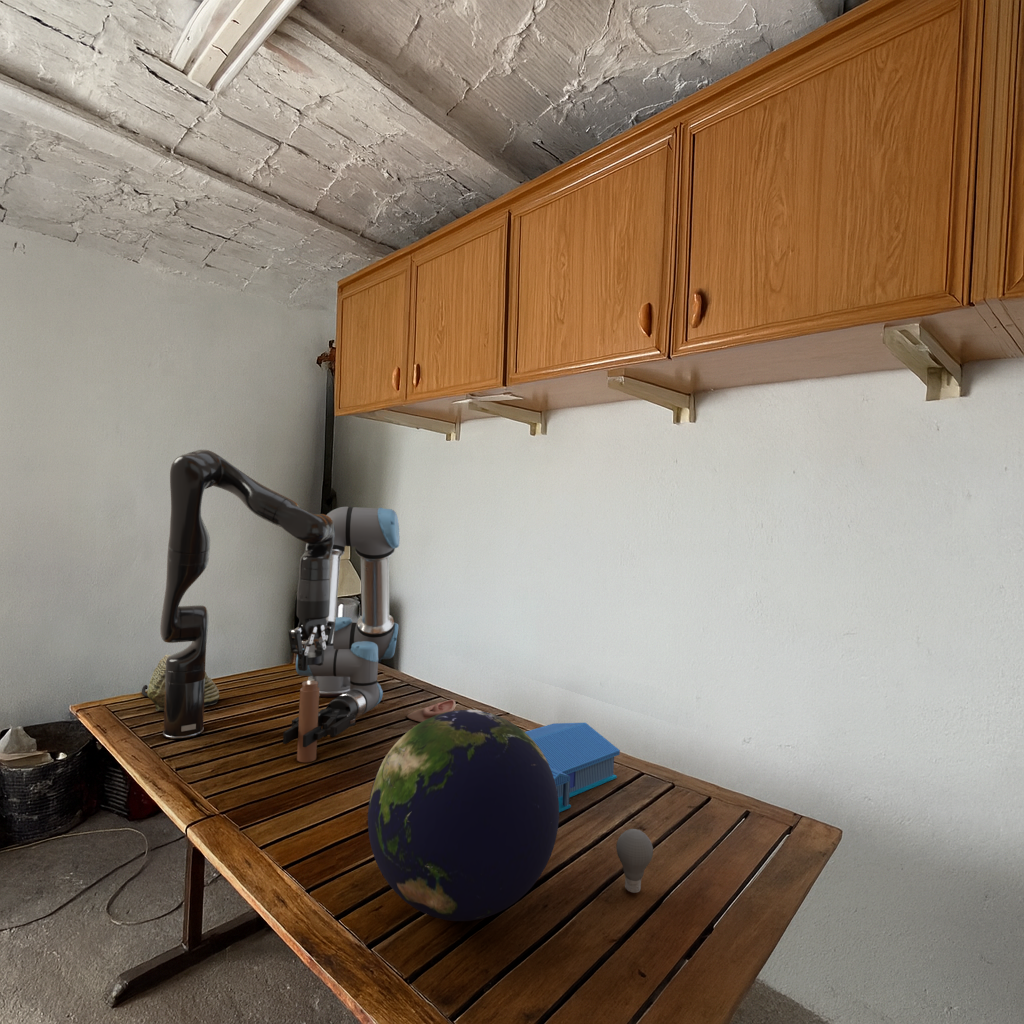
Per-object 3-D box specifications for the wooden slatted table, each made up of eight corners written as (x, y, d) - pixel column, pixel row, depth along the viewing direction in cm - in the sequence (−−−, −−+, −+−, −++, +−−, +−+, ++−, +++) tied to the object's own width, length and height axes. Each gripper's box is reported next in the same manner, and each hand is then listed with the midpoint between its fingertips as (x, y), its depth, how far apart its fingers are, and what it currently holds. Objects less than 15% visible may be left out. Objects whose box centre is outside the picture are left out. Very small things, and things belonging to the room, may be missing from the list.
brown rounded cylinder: (296, 763, 150) (300, 685, 149) (296, 756, 154) (300, 680, 154) (316, 761, 151) (320, 684, 151) (316, 754, 155) (319, 679, 155)
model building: (501, 837, 120) (504, 785, 120) (427, 790, 139) (429, 744, 138) (628, 782, 147) (630, 739, 147) (552, 748, 165) (553, 710, 165)
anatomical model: (403, 706, 181) (417, 694, 192) (402, 720, 181) (416, 707, 192) (447, 711, 178) (459, 699, 189) (447, 725, 178) (458, 712, 189)
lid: (325, 662, 152) (325, 655, 152) (306, 666, 149) (307, 658, 149) (314, 658, 156) (314, 651, 156) (295, 661, 152) (296, 654, 152)
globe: (322, 932, 92) (330, 728, 92) (425, 835, 120) (432, 678, 119) (512, 1001, 81) (522, 769, 81) (577, 877, 109) (585, 703, 108)
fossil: (144, 707, 182) (145, 655, 182) (212, 696, 194) (213, 647, 194) (151, 716, 175) (153, 662, 175) (221, 703, 188) (223, 653, 188)
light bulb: (610, 879, 108) (613, 822, 108) (644, 879, 109) (647, 822, 109) (619, 902, 102) (622, 840, 102) (655, 901, 103) (658, 840, 103)
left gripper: (305, 603, 144) (302, 677, 144) (345, 595, 157) (342, 663, 157) (279, 599, 147) (276, 672, 147) (321, 591, 160) (318, 658, 160)
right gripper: (374, 727, 167) (327, 761, 145) (316, 718, 172) (261, 750, 149) (376, 698, 167) (328, 728, 145) (317, 691, 172) (262, 718, 149)
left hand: (310, 667), depth 152 cm, fingers closed on lid, 5 cm apart
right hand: (294, 739), depth 147 cm, fingers closed on brown rounded cylinder, 4 cm apart
